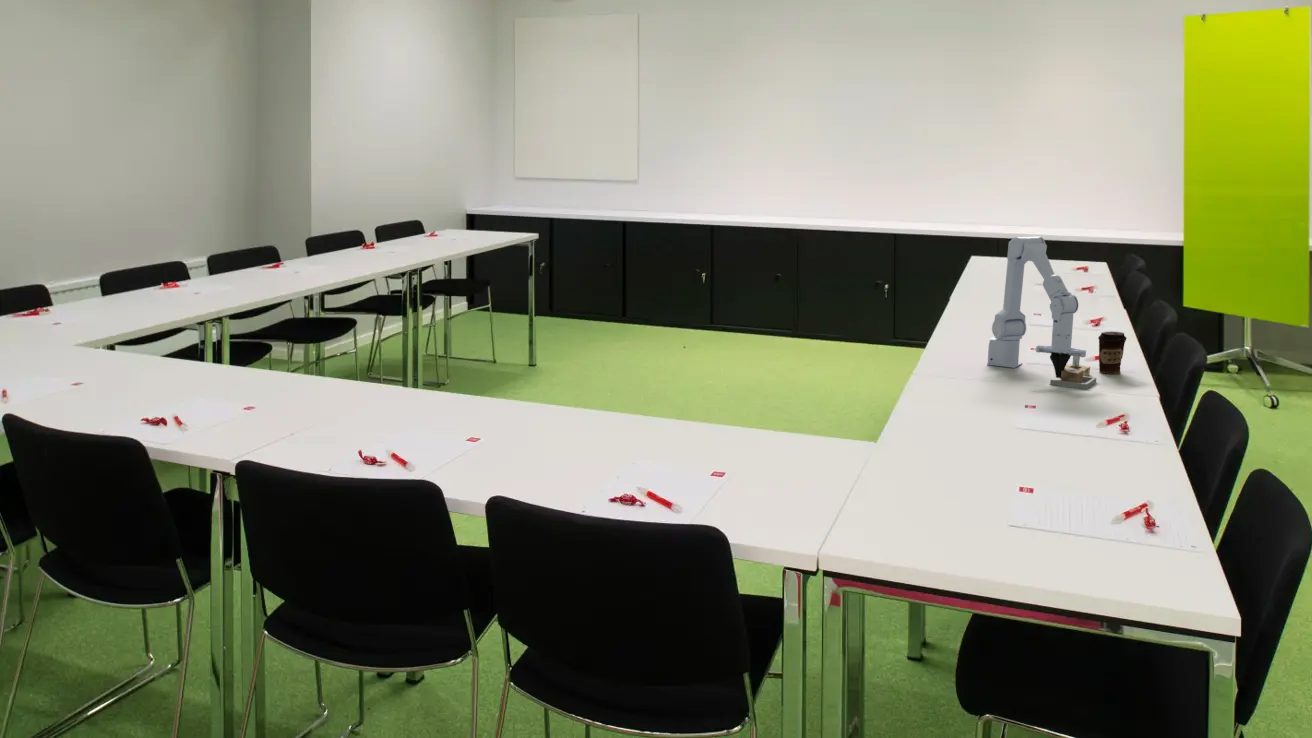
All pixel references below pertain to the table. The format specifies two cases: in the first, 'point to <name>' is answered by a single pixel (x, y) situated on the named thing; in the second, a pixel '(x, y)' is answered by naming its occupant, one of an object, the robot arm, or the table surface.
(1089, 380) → the grey arch piece
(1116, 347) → the coffee cup
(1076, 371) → the walnut block
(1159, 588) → the table surface
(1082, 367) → the oak block
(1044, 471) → the table surface
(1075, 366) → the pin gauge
